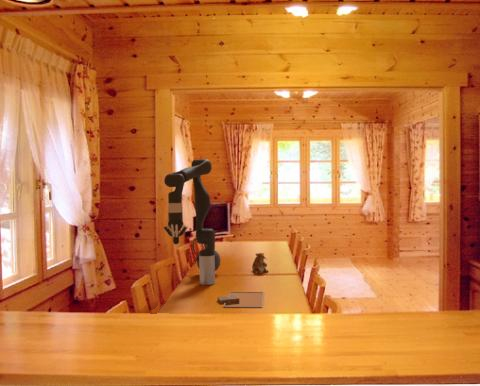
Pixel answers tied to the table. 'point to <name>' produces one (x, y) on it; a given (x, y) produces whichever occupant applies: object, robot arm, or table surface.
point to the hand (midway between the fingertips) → (176, 244)
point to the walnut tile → (228, 299)
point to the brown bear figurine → (259, 264)
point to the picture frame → (246, 300)
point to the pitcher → (216, 256)
